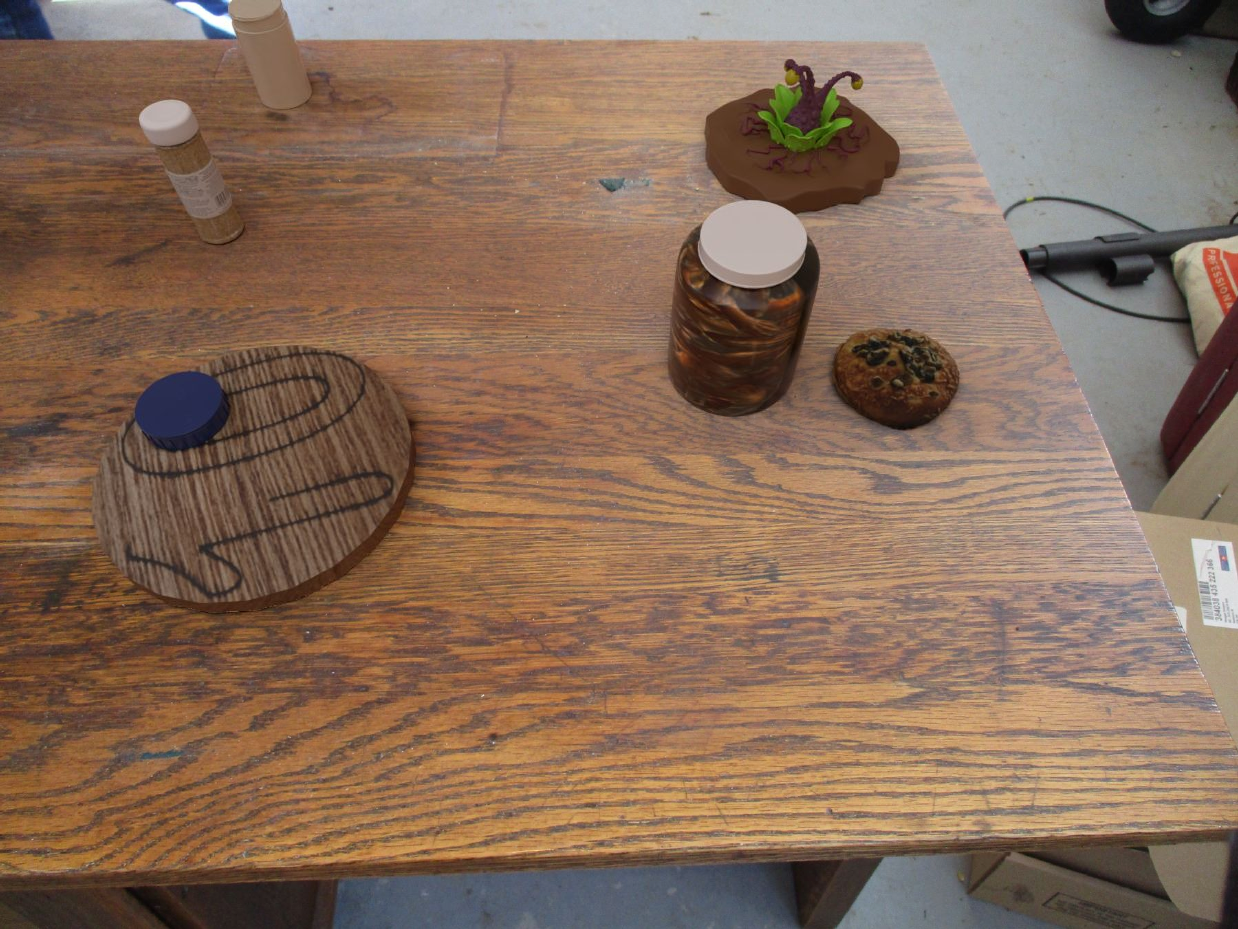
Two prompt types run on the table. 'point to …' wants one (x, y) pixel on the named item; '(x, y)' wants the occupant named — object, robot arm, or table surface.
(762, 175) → the plant
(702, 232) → the jar
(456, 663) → the table surface
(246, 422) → the trivet
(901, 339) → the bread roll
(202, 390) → the lid
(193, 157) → the spice bottle
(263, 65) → the beige cylindrical container
